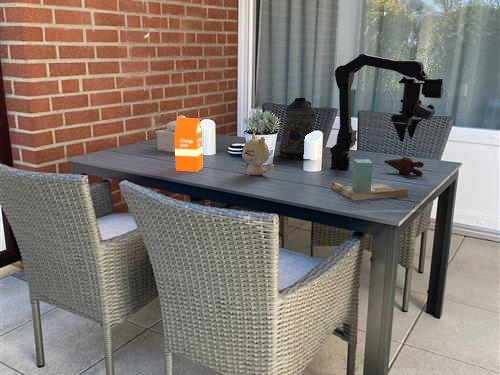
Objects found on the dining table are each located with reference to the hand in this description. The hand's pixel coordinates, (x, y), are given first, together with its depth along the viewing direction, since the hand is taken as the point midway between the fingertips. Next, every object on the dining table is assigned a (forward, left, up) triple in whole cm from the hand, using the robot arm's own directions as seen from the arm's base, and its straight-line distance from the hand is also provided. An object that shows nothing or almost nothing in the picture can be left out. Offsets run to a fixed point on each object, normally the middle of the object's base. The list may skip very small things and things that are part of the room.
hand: (406, 139), depth 183 cm
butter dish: (-100, +15, -14) cm, 103 cm away
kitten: (-52, -18, -14) cm, 57 cm away
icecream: (0, +3, -14) cm, 14 cm away
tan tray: (-9, -28, -14) cm, 32 cm away
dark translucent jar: (-46, +21, -14) cm, 53 cm away
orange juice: (-79, -19, -14) cm, 83 cm away
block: (-11, -28, -13) cm, 33 cm away
